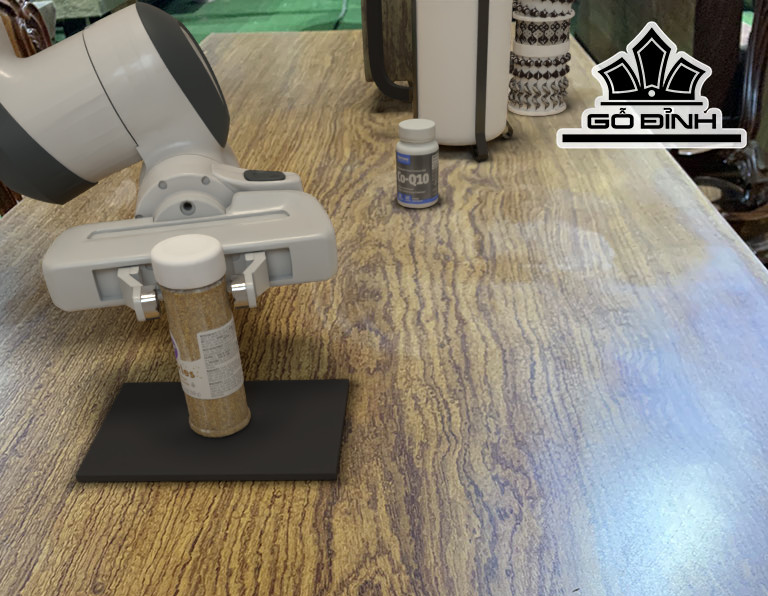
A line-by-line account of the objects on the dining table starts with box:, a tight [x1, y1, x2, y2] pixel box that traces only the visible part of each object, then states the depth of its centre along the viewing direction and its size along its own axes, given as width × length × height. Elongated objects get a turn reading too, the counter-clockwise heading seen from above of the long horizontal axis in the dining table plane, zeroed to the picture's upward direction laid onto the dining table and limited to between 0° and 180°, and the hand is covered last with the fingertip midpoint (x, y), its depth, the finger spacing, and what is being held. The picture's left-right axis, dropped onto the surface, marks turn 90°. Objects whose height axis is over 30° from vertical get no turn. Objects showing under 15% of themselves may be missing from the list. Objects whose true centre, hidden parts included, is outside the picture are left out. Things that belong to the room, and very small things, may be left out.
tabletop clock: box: [360, 0, 413, 112], centre depth 118 cm, size 14×9×25 cm, turn 175°
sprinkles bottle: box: [150, 234, 251, 438], centre depth 56 cm, size 5×5×13 cm
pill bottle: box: [395, 118, 440, 209], centre depth 91 cm, size 5×5×8 cm
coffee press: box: [366, 0, 514, 162], centre depth 99 cm, size 17×16×30 cm
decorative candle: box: [507, 0, 578, 117], centre depth 112 cm, size 9×9×25 cm
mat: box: [75, 378, 350, 483], centre depth 61 cm, size 18×12×1 cm, turn 88°
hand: (195, 304), depth 53 cm, fingers open, 5 cm apart
